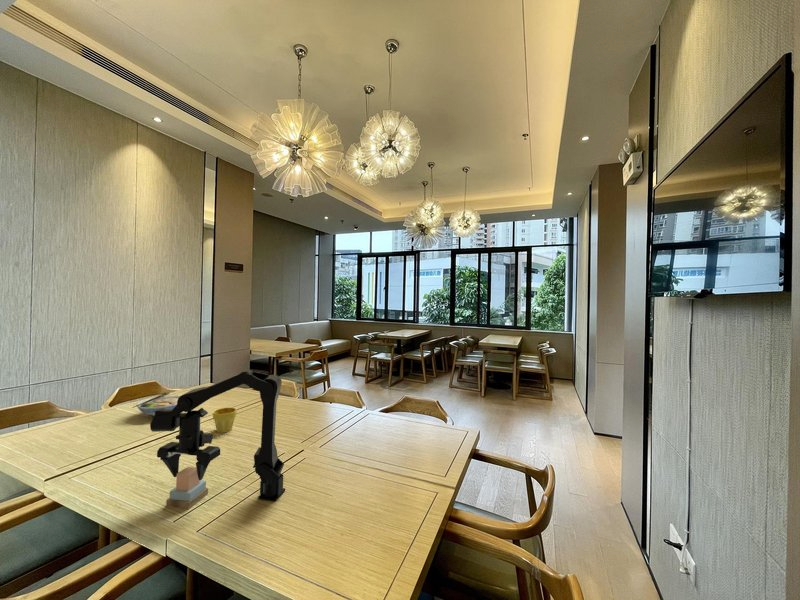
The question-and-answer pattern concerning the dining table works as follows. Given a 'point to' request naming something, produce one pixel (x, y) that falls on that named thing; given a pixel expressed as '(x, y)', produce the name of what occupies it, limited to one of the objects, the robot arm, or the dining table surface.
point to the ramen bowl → (157, 403)
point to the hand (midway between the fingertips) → (188, 478)
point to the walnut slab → (186, 503)
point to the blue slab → (187, 492)
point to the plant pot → (224, 419)
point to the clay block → (187, 479)
